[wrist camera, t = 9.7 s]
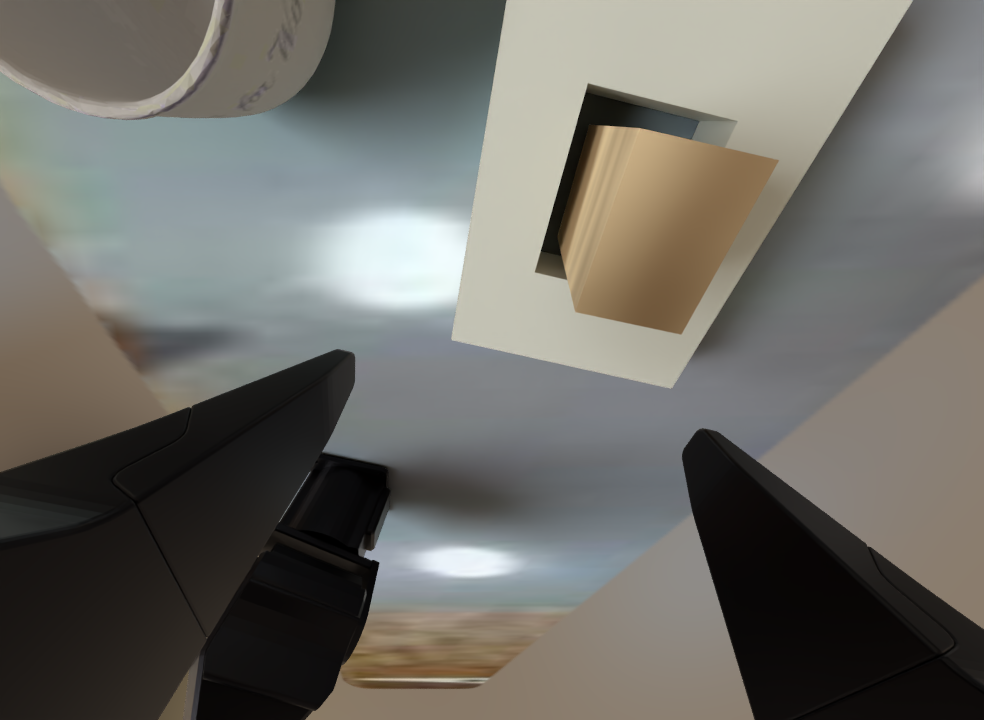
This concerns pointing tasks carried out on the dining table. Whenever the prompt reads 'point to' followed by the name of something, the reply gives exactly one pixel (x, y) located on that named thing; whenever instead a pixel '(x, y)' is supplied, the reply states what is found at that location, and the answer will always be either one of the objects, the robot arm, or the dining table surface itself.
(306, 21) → the teacup
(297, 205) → the dining table surface
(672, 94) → the well block
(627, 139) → the wooden bar
